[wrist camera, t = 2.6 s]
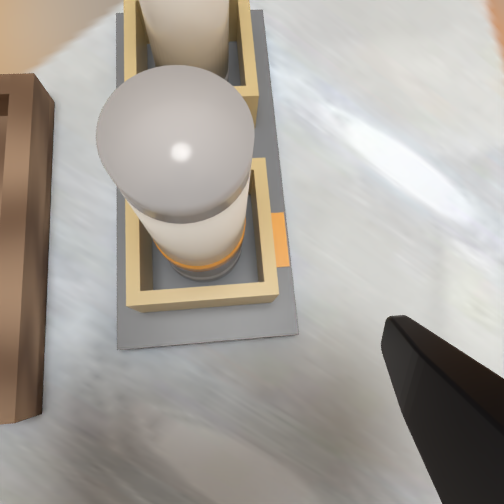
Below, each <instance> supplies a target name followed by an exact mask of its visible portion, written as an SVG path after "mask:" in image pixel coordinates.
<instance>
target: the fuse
mask: <svg viewBox="0 0 504 504" xmlns="http://www.w3.org/2000/svg"><path fill="white" fill-rule="evenodd" d="M139 2H140V6H141V10H142V14H143V18H144V22H145V26H146V30H147V34H148V38H149V42H150V46H151V50H152V54H153V58H154V62H155V66H156V67H160V66H167V65H186V66H193V67H197V68H201V69H204V70H207V71H210V72H212V73H214V74H216V75H218V76H220V77H221V78H223V79H224V80H226V81H227V82H228V75H229V0H139Z"/></svg>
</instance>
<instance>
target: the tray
mask: <svg viewBox="0 0 504 504" xmlns="http://www.w3.org/2000/svg"><path fill="white" fill-rule="evenodd" d="M53 126H54V101H53V99H52V98H51V97H50V95H49V94H48V92H47V91H46V89H45V88H44V87H43V85H42V84H41V82H40V81H39V80H38V78H37V77H36V75H35V74H34V73H29V74H3V75H2V74H0V424H10V423H16V422H19V421H22V420H25V419H28V418H31V417H34V416H37V415H40V414H42V396H43V371H44V347H45V322H46V298H47V273H48V249H49V224H50V200H51V175H52V151H53Z"/></svg>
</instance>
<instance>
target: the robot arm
mask: <svg viewBox="0 0 504 504" xmlns="http://www.w3.org/2000/svg"><path fill="white" fill-rule="evenodd" d="M381 350H382V354H383V357H384V360H385V363H386V366H387V369H388V372H389V375H390V379H391V382H392V385H393V388H394V391H395V394H396V397H397V400H398V403H399V406H400V409H401V412H402V414H403V417H404V419H405V422H406V424H407V426H408V428H409V431H410V433H411V435H412V437H413V439H414V442H415V444H416V446H417V448H418V451H419V453H420V455H421V457H422V459H423V462H424V464H425V466H426V468H427V471H428V473H429V475H430V477H431V480H432V482H433V484H434V486H435V488H436V491H437V493H438V495H439V497H440V500H441V502H442V504H504V379H503V378H502V377H500V376H499V375H497V374H496V373H494V372H493V371H491V370H490V369H488V368H487V367H485V366H483V365H482V364H480V363H479V362H477V361H476V360H474V359H473V358H471V357H470V356H468V355H466V354H465V353H463V352H462V351H460V350H459V349H457V348H456V347H454V346H453V345H451V344H449V343H448V342H446V341H445V340H443V339H442V338H440V337H439V336H437V335H436V334H434V333H433V332H431V331H429V330H428V329H426V328H425V327H423V326H422V325H420V324H419V323H417V322H416V321H414V320H412V319H411V318H409V317H408V316H405V315H398V316H389V317H388V318H387V319H386V322H385V326H384V331H383V336H382V341H381Z"/></svg>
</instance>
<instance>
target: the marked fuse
mask: <svg viewBox="0 0 504 504" xmlns="http://www.w3.org/2000/svg"><path fill="white" fill-rule="evenodd" d="M254 138H255V133H254V123H253V118H252V115H251V112H250V110H249V107H248V105H247V103H246V102H245V100H244V99H243V97H242V96H241V94H240V93H239V92H238V91H237V90H236V89H235V88H234V87H233V86H232V85H231V84H230V83H229V82H227V81H226V80H224V79H223V78H221V77H220V76H218V75H216V74H214V73H212V72H210V71H207V70H204V69H201V68H197V67H193V66H186V65H167V66H160V67H155V68H152V69H148V70H145V71H143V72H141V73H138V74H136V75H134V76H133V77H131V78H129V79H128V80H126V81H125V82H124V83H123V84H121V85H120V86H119V87H118V88H117V89H116V90H115V91H114V92H113V93H112V94H111V96H110V97H109V98H108V100H107V101H106V103H105V105H104V106H103V108H102V111H101V113H100V116H99V119H98V123H97V129H96V145H97V149H98V154H99V157H100V159H101V162H102V164H103V166H104V168H105V169H106V171H107V173H108V174H109V176H110V177H111V179H112V180H113V181H114V183H115V184H116V186H117V187H118V189H119V190H120V192H121V193H122V195H123V196H124V197H125V199H126V200H127V202H128V203H129V205H130V206H131V208H132V209H133V211H134V212H135V213H136V215H137V216H138V218H139V219H140V221H141V222H142V224H143V225H144V227H145V228H146V229H147V231H148V232H149V234H150V235H151V237H152V238H153V241H154V243H155V244H156V246H157V248H158V249H159V250H160V252H161V253H162V254H163V256H164V257H165V258H166V259H167V260H168V261H169V263H170V264H171V266H172V267H173V268H174V270H175V271H176V272H177V273H178V274H180V275H181V276H183V277H184V278H186V279H189V280H191V281H195V282H211V281H215V280H218V279H220V278H222V277H224V276H225V275H227V274H228V273H229V272H230V271H231V270H232V269H233V268H234V267H235V266H236V264H237V262H238V260H239V258H240V255H241V250H242V242H243V239H244V234H245V226H246V207H247V198H248V190H249V181H250V173H251V164H252V155H253V147H254Z"/></svg>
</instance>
